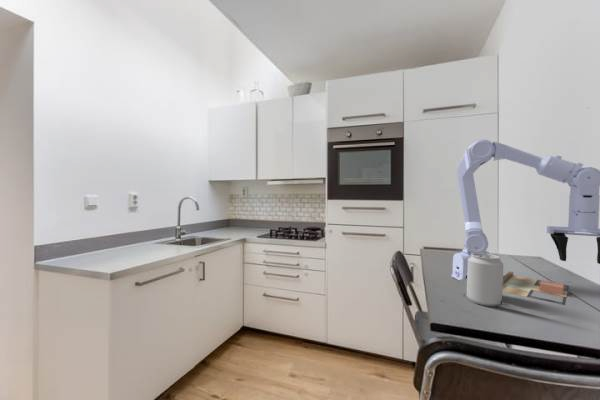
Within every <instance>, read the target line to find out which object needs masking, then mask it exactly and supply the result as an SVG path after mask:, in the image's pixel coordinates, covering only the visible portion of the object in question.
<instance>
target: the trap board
mask: <svg viewBox="0 0 600 400" xmlns="http://www.w3.org/2000/svg"><path fill="white" fill-rule="evenodd" d="M541 281H542V280H541V279H534V278H529V277H524V276H520V275H519V276H518V275H514V272H513V271H508V272H507V273H506V274H505V275H503V289H502V293H509V294H513V295H516V296H522V297H525V298H530V299H535V300H540V301H545V302H547V303H548V302H549V303H554V304H558V305H563V306H565V305H566V300H567V295H568V291H569V287H570V285H569V284H568V285H567V284H564V287H565V289H564V292H563V295H558V294H553V293H548V292H543V291H540V285H538V283H541ZM534 291H535V292H538V293H543V294H548V295H554V296H559V297H563V298H562V302H561V301H557V300H552V299H548V298H543V297H538V296H534V295H532V293H533V292H534Z"/></svg>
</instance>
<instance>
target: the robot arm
mask: <svg viewBox="0 0 600 400" xmlns="http://www.w3.org/2000/svg"><path fill="white" fill-rule="evenodd" d="M492 158H493V161H502V160H506V161H511V162H514V163H517V164H521V165H524V166H527V167H530V168H534V169H535V170H536V172H537V174H538V175H540V176H543V177H545V178H548V179H551V180H554V181H556V182H559V183H563V184H566V183H567V185H568V186H569V189H570V190H569V191H570V194H569V197H568V199H569V202H568V221H567V222H568V224H567V225H568V226H549V225H547V226H546V234H550V237H551V239H552V241H553V242H554V244H555V246H556V249H557V253H558V256H559V260H560V261H562V262H566V261H567V246H568V242H569V237H568V236H567V235H570V236H571V235H572V236H586V237H596V239H595V240H596V244H597V256H596V261H597V262H596V263H597V264H599V265H600V228H599V222H600V221H599V219H600V169H598V168H595V167H592V166H591V167H590V166H587V167H583V166H584V164H583V163H582V162H578V163H574V162H571V161H569V160H565V159H563V157H562V156H560V155H555V156H553V155H549V156H545V157H541V156H537V155H534V154H532V153H529V152H527V151H524V150H521V149H518V148H515V147H512V146H510V145H507V144H504V143H501V142H497V141H491V140H488V139H483V138H482V139H478V140H475V141H474V142H473V143H471V144H470V146H468V147H467V149H466V150H465V151H464V155H463V156H462V158H461V160H460V162H459V163H458V165H457V167H456V176H457V183H458V189H459V196H460V201H461V209H462V213H463V214H462V215H463V220H464V221H463V222H464V229H465V236H464V239H463V246H464V248H462V251H461V252H456V253H454V255H453V257H452V272H451V273H452V274H451V275H450V276H451V277H452V278H453V279H455V280H457V281H461V280H463V279H466V280H467V271H468V259H469V258H470V257H471V254H472V253H484V254H490V252H489V251H487V250H488V247H489V241H488V238H487V236H486V234H485V233H484V231H483V227H482V226H483V225H482V220H481V215H480V208H479V202H478V196H477V190H476V183H475V178H474V173H475V172H476V171H477V170H478V169H479V168H480V167H481V166H484V164H486V163H488V162H489V161H490V160H492Z"/></svg>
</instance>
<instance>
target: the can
mask: <svg viewBox="0 0 600 400" xmlns="http://www.w3.org/2000/svg"><path fill="white" fill-rule="evenodd" d="M500 259H501V257H500V256H498V255H495V254H491V253H489V254H484V253H472V254H471V257H470V258H469V259H468V271H467V276H466V278H467V279H466V297H467V298H468V299H469V300H470V301H471V302H473V303H474V304H477V305H481V306H484V307H485V306H486V307H497V306H499V305H500V304H502V302H503V301H502V300H503V292H502V289H503V277H504V263H503V262H502V261H501V260H500Z"/></svg>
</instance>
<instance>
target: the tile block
mask: <svg viewBox="0 0 600 400" xmlns="http://www.w3.org/2000/svg"><path fill="white" fill-rule="evenodd" d="M564 285H565V284H564V283H560V282H559V283H558V282H553V281H548V280H543V279H542V280H541V282H539V286H540V291H543V292H548V293H553V294H558V295H563V292H564V291H565V289H564V288H565V286H564ZM543 292H542V293H543ZM548 293H547V294H548ZM553 294H552V295H553Z"/></svg>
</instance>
